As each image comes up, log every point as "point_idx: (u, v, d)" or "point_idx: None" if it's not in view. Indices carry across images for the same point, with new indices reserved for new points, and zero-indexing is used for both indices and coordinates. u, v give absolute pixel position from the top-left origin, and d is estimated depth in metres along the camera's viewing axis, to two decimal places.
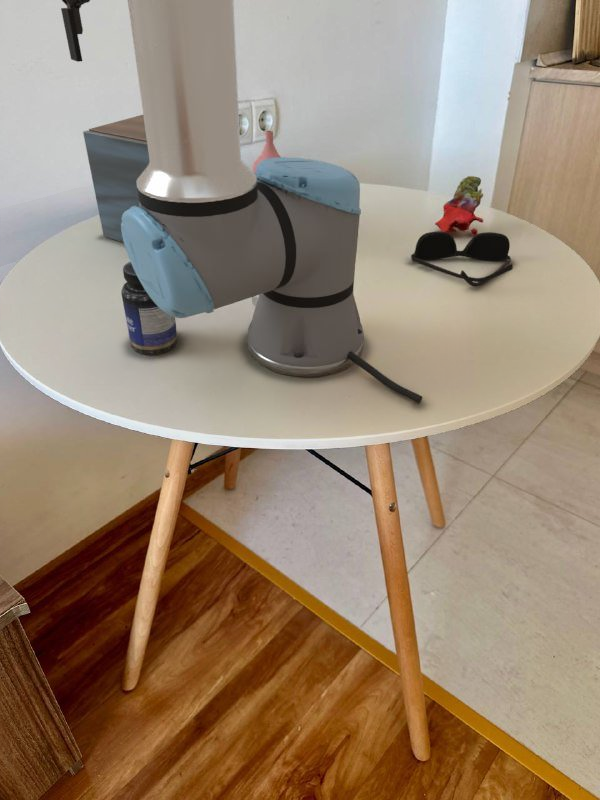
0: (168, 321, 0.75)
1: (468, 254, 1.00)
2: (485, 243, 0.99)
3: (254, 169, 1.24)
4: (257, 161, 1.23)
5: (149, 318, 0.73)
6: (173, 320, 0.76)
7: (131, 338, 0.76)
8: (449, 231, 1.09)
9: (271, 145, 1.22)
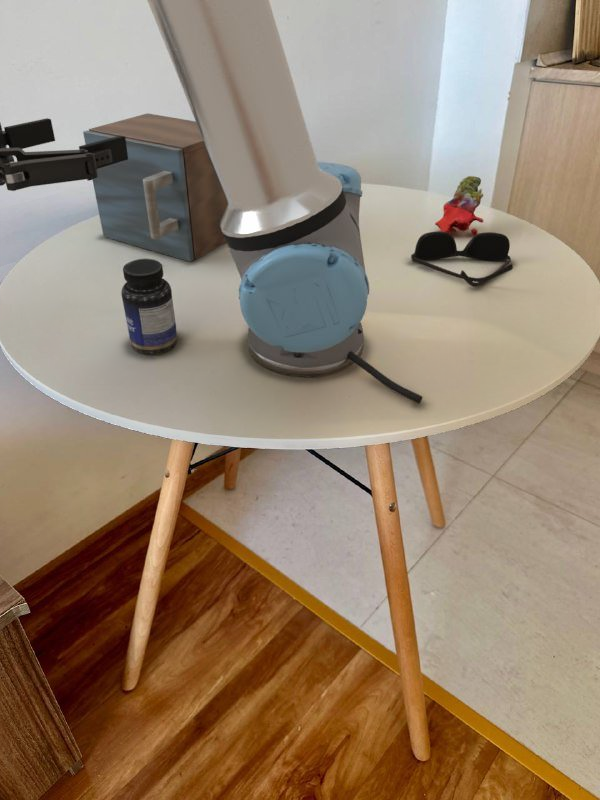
0: (168, 321, 0.75)
1: (468, 254, 1.00)
2: (485, 243, 0.99)
3: None
4: None
5: (149, 318, 0.73)
6: (173, 320, 0.76)
7: (131, 338, 0.76)
8: (449, 231, 1.09)
9: None
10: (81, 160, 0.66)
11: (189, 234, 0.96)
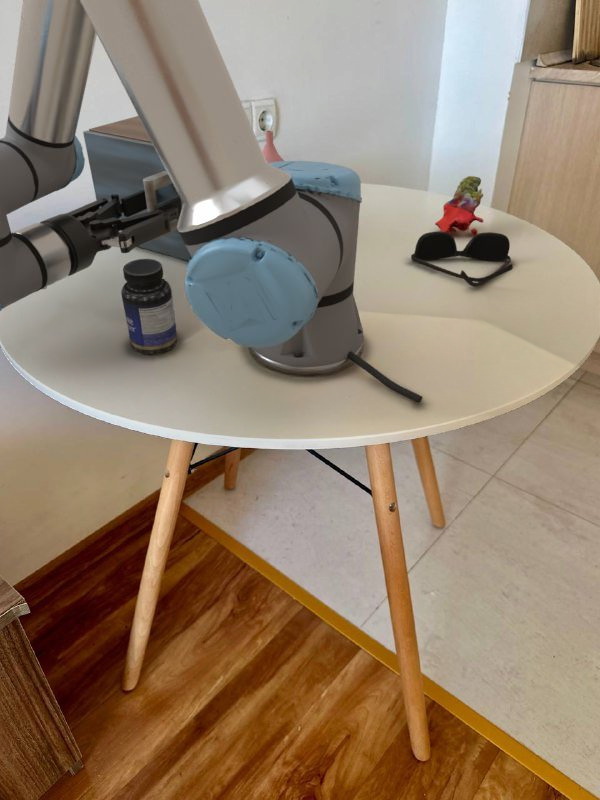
0: (168, 321, 0.75)
1: (468, 254, 1.00)
2: (485, 243, 0.99)
3: None
4: None
5: (149, 318, 0.73)
6: (173, 320, 0.76)
7: (131, 338, 0.76)
8: (449, 231, 1.09)
9: (271, 145, 1.22)
10: (162, 220, 0.84)
11: None
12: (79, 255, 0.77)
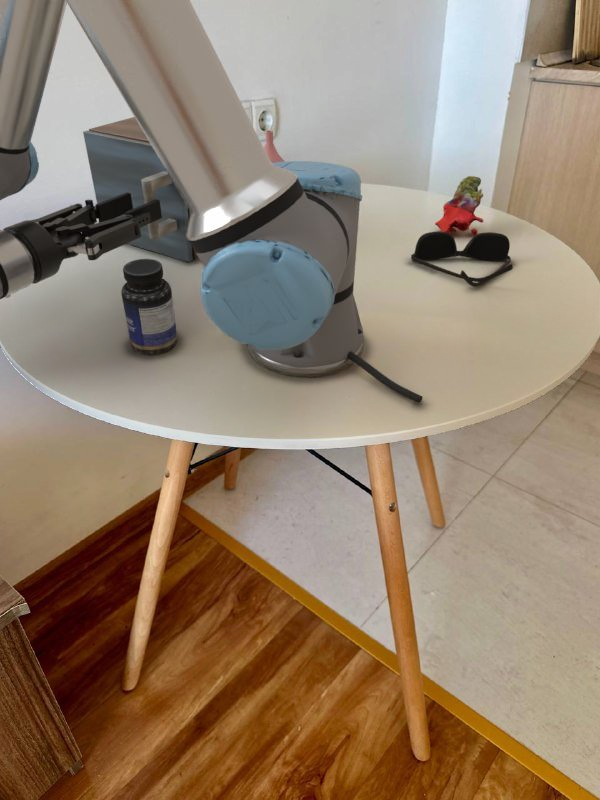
0: (168, 321, 0.75)
1: (468, 254, 1.00)
2: (485, 243, 0.99)
3: None
4: None
5: (149, 318, 0.73)
6: (173, 320, 0.76)
7: (131, 338, 0.76)
8: (449, 231, 1.09)
9: (271, 145, 1.22)
10: (132, 225, 0.82)
11: None
12: (43, 262, 0.75)
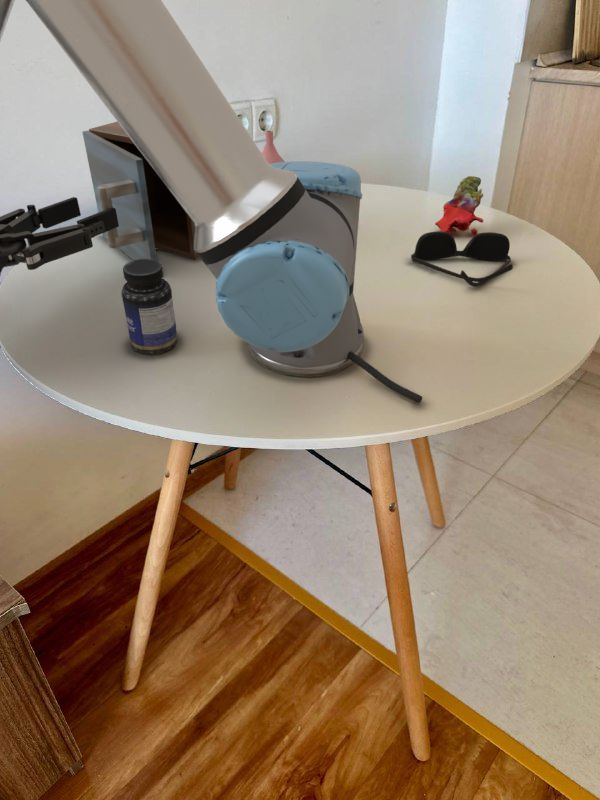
0: (168, 321, 0.75)
1: (468, 254, 1.00)
2: (485, 243, 0.99)
3: None
4: None
5: (149, 318, 0.73)
6: (173, 320, 0.76)
7: (131, 338, 0.76)
8: (449, 231, 1.09)
9: (271, 145, 1.22)
10: (81, 235, 0.79)
11: (152, 247, 0.92)
12: None
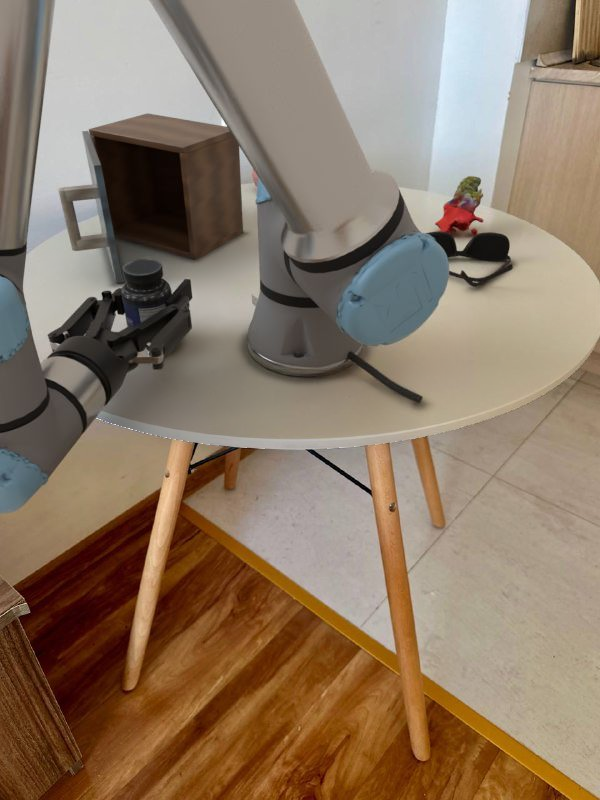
0: None
1: (468, 254, 1.00)
2: (485, 243, 0.99)
3: None
4: None
5: None
6: None
7: None
8: (449, 231, 1.09)
9: None
10: (185, 317, 0.70)
11: (114, 255, 0.89)
12: (112, 385, 0.61)
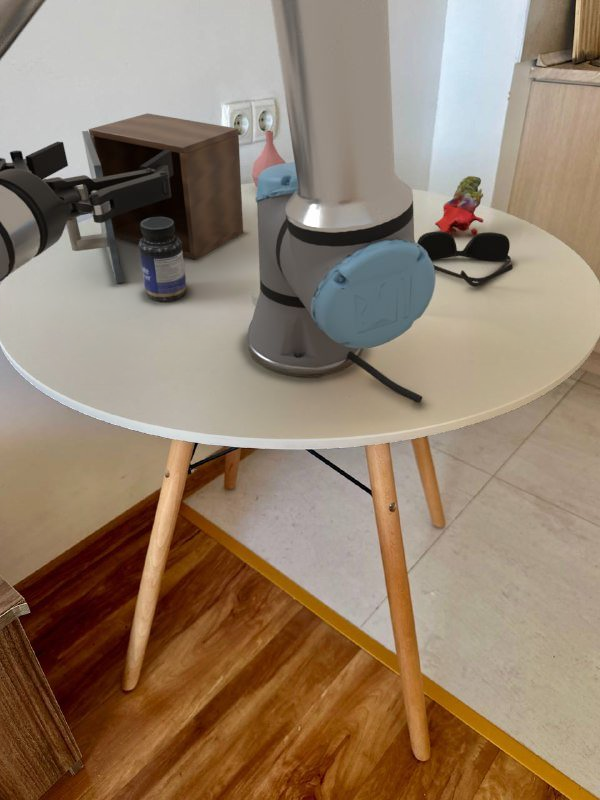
0: (179, 272, 0.86)
1: (468, 254, 1.00)
2: (485, 243, 0.99)
3: (254, 169, 1.24)
4: (257, 161, 1.23)
5: (163, 268, 0.84)
6: (183, 271, 0.87)
7: (146, 287, 0.87)
8: (449, 231, 1.09)
9: (271, 145, 1.22)
10: (158, 180, 0.60)
11: (114, 255, 0.89)
12: (49, 224, 0.53)
